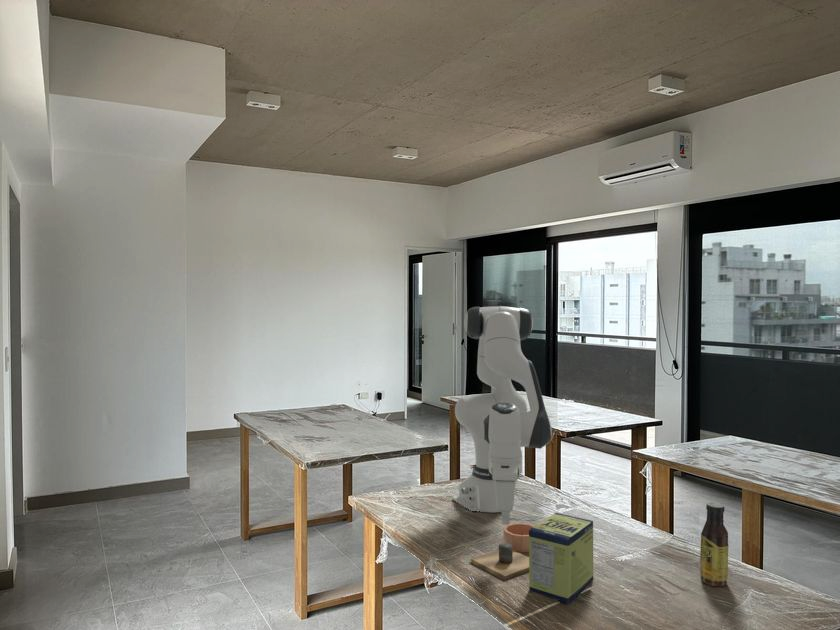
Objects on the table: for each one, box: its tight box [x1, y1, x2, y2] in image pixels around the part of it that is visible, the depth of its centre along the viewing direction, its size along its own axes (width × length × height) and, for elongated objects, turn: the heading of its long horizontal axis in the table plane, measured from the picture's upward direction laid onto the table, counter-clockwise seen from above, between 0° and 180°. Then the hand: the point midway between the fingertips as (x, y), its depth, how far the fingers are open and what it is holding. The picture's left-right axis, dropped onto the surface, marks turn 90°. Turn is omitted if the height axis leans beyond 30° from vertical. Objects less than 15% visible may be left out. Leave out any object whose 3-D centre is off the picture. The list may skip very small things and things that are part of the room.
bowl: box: [502, 522, 535, 553], centre depth 176 cm, size 10×10×5 cm
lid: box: [470, 543, 529, 580], centre depth 163 cm, size 13×13×5 cm
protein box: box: [528, 512, 594, 605], centre depth 151 cm, size 10×16×16 cm
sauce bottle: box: [699, 501, 729, 587], centre depth 153 cm, size 7×6×20 cm
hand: (506, 517), depth 162 cm, fingers open, 8 cm apart
